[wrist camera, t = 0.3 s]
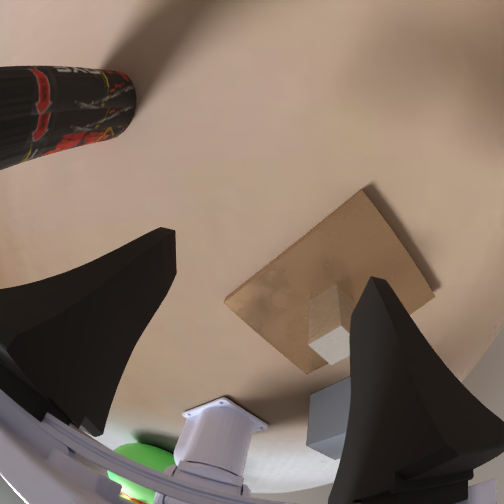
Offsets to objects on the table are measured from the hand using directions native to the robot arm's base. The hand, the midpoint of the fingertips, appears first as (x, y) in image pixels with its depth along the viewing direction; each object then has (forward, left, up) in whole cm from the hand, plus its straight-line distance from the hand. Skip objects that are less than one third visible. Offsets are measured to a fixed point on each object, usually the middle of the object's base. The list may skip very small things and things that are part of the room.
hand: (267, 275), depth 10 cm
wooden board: (-3, -8, -11) cm, 14 cm away
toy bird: (-52, -21, -11) cm, 57 cm away
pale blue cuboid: (-10, -20, -11) cm, 25 cm away
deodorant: (-5, +16, -11) cm, 20 cm away
